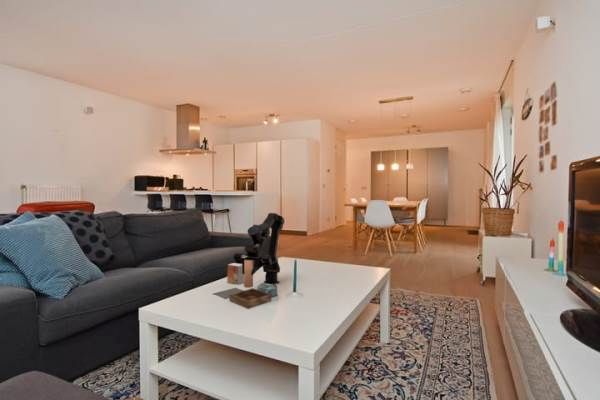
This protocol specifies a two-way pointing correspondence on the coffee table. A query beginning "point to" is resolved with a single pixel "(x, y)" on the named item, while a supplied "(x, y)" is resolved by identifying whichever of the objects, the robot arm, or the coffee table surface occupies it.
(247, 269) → the tan cylinder
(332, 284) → the coffee table surface
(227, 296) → the mat
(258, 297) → the crate
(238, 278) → the small box
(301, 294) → the coffee table surface
